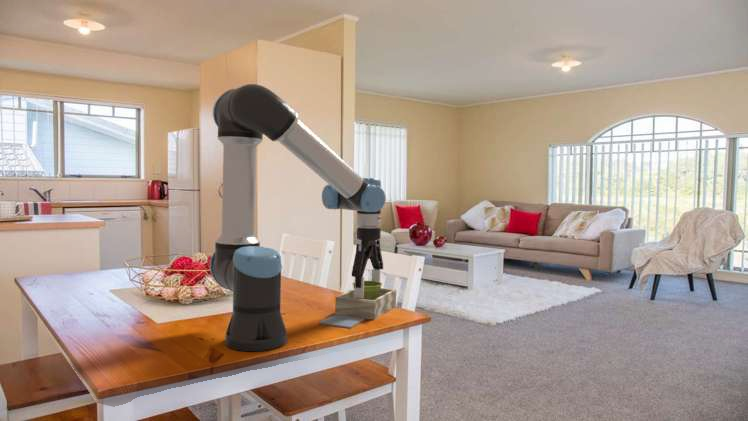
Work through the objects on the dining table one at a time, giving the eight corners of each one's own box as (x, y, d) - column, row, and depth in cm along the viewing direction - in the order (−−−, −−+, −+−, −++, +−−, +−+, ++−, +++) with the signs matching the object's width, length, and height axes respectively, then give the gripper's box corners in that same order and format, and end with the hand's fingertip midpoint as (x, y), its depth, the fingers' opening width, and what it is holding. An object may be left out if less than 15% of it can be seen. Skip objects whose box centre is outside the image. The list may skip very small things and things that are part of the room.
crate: (374, 319, 156) (375, 301, 156) (335, 314, 161) (335, 296, 161) (395, 306, 174) (396, 289, 174) (359, 301, 179) (360, 285, 179)
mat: (350, 328, 147) (350, 326, 147) (318, 323, 150) (318, 322, 150) (364, 319, 156) (364, 318, 156) (334, 315, 160) (334, 314, 160)
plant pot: (355, 314, 162) (356, 286, 161) (349, 307, 171) (349, 280, 170) (385, 313, 164) (385, 285, 164) (376, 306, 173) (377, 280, 173)
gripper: (364, 231, 153) (363, 303, 155) (393, 224, 176) (392, 286, 178) (340, 229, 156) (340, 300, 157) (372, 223, 179) (371, 284, 180)
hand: (367, 293), depth 168 cm, fingers open, 13 cm apart
